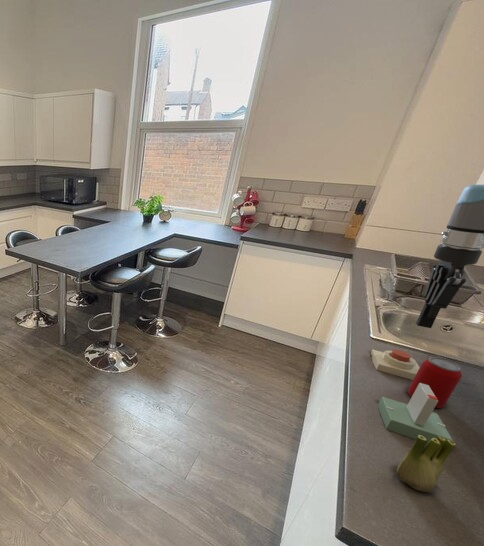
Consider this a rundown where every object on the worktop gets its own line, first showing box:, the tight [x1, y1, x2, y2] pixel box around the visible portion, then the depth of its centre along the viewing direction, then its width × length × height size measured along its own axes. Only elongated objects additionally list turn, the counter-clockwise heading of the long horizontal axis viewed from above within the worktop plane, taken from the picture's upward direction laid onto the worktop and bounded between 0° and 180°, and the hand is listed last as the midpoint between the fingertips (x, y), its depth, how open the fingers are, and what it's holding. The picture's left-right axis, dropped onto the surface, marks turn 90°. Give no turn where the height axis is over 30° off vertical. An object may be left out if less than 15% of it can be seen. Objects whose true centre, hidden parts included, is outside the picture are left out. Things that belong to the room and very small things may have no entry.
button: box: [390, 349, 412, 362], centre depth 93 cm, size 4×4×2 cm
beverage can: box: [407, 356, 463, 409], centre depth 80 cm, size 7×7×12 cm
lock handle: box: [407, 383, 438, 426], centre depth 72 cm, size 6×2×8 cm, turn 147°
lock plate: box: [377, 396, 454, 444], centre depth 74 cm, size 10×9×3 cm
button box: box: [369, 349, 420, 381], centre depth 94 cm, size 10×9×4 cm
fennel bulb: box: [396, 435, 458, 493], centre depth 59 cm, size 6×5×12 cm
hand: (423, 325), depth 89 cm, fingers closed
